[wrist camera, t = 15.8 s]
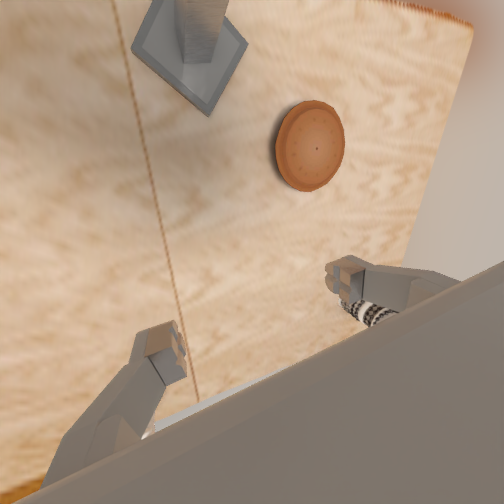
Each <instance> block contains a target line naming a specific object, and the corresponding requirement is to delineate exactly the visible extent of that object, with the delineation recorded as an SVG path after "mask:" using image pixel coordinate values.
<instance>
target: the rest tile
mask: <svg viewBox="0 0 504 504" xmlns="http://www.w3.org/2000/svg"><path fill="white" fill-rule="evenodd" d="M247 46H248V43H247V41H246V40H245V39H244V38H243V37H242V36H241V34H240V33H239V32H238V31H237V30H236V28H235V27H234V26H233V25H232V24H231V23H230V21H229V20H228V19H227V18H226V17H225V16H224V19H223V23H222V26H221V30H220V33H219V36H218V40H217V43H216V47H215V50H214V53H213V57H212V60H211V63H199V64H184V63H183V59H182V55H181V50H180V46H179V42H178V38H177V34H176V30H175V19H174V0H153V1H152V3H151V6H150V8H149V10H148V12H147V14H146V16H145V18H144V20H143V23H142V25H141V27H140V29H139V31H138V33H137V35H136V38H135V40H134V42H133V44H132V46H131V50H132V53H133V54H134V55H136V56H137V57H138V58H139V59H140V60H141V61H143V62H144V63H145V64H146V65H147V66H148V67H150V68H151V69H152V70H153V71H154V72H156V73H157V74H158V75H159V76H160V77H161V78H163V79H164V80H165V81H166V82H167V83H168V84H170V85H171V86H172V87H173V88H174V89H175V90H177V91H178V92H179V93H180V94H181V95H183V96H184V97H185V98H186V99H187V100H188V101H190V102H191V103H192V104H193V105H194V106H195V107H197V108H198V109H199V110H200V111H201V112H203V113H204V114H205V115H206V116H207V117H209V116H210V114H211V112H212V110H213V108H214V106H215V105H216V103H217V101H218V99H219V97H220V95H221V94H222V92H223V90H224V88H225V86H226V84H227V83H228V81H229V79H230V77H231V75H232V73H233V72H234V70H235V68H236V66H237V64H238V63H239V61H240V59H241V57H242V55H243V53H244V52H245V50H246V48H247Z"/></svg>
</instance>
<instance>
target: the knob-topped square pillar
mask: <svg viewBox="0 0 504 504" xmlns="http://www.w3.org/2000/svg"><path fill="white" fill-rule="evenodd" d="M228 2H229V0H174V19H175V30H176V34H177V38H178V42H179V46H180V50H181V55H182V59H183V63H184V64H199V63H211V60H212V57H213V53H214V50H215V47H216V43H217V40H218V36H219V33H220V30H221V26H222V23H223V19H224V16H225V12H226V9H227V6H228Z"/></svg>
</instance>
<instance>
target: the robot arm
mask: <svg viewBox="0 0 504 504" xmlns="http://www.w3.org/2000/svg"><path fill="white" fill-rule="evenodd" d="M325 271H326V272H327V275H326V277H325V283H326V285H327V287H328V289H329V290H330V291H331V292H333V293H335V294H339V298H341V299H342V300H343V301H345V302H346V303H347V304H349V305H350V304H352V303H354V302H357V301H359V300H362V299H363V300H364V301H367V302H370V303H373V304H376V305H379V306H382V307H385V308H388V309H391V310H394V311H397V312H399V313H397V314H395V315H393V316H391V317H389V318H387V319H385V320H383V321H381V322H379V323H377V324H375V325H373V326H371V327H369V328H367V329H365V330H363V331H361V332H359V333H357V334H355V335H353V336H351V337H349V338H347V339H345V340H343V341H341V342H339V343H337V344H334V345H332V346H330V347H328V348H326V349H324V350H322V351H320V352H318V353H316V354H314V355H312V356H310V357H308V358H306V359H304V360H302V361H300V362H298V363H296V364H294V365H292V366H290V367H288V368H286V369H284V370H282V371H280V372H278V373H276V374H274V375H272V376H270V377H268V378H266V379H264V380H262V381H259V382H257V383H255V384H254V385H251V386H249V387H247V388H246V389H243V390H241V391H239V392H237V393H235V394H233V395H231V396H229V397H227V398H225V399H223V400H221V401H219V402H217V403H215V404H213V405H211V406H209V407H207V408H205V409H203V410H201V411H199V412H197V413H195V414H193V415H191V416H188V417H187V418H185V419H183V420H180V421H178V422H176V423H174V424H172V425H170V426H168V427H166V428H164V429H162V430H160V431H158V432H156V433H154V434H152V435H150V436H148V437H146V438H144V439H142V440H141V438H142V436H143V434H144V432H145V430H146V428H147V426H148V424H149V422H150V420H151V418H152V416H153V414H154V412H155V410H156V408H157V406H158V403H159V401H160V399H161V397H162V395H163V393H164V391H165V389H166V386H168V385H170V384H172V383H174V382H176V381H178V380H181V379H183V378H185V377H187V367H186V361H185V359H184V357H185V355H186V348H185V343H184V340H183V337H182V334H181V333H179V332H178V326H177V324H176V322H175V320H171V321H168V322H165V323H163V324H160V325H157V326H154V327H151V328H148V329H145V330H143V331H140V332H138V333H137V334H136V337H135V341H134V345H133V348H132V352H131V356H130V359H129V363H128V364H127V365H125V366H124V367H123V368H122V369H121V370H120V371H119V372H118V374H117V375H116V376H115V377H114V378H113V379H112V380H111V382H110V383H109V384H108V385H107V386H106V387H105V389H104V390H103V391H102V392H101V393H100V394H99V396H98V397H97V398H96V399H95V400H94V401H93V403H92V404H91V405H90V406H89V407H88V408H87V409H86V411H85V412H84V413H83V414H82V415H81V416H80V418H79V419H78V420H77V421H76V422H75V423H74V425H73V426H72V427H71V428H70V429H69V430H68V432H67V433H66V434H65V435H64V436H63V438H62V440H61V442H60V445H59V447H58V449H57V451H56V454H55V456H54V458H53V460H52V463H51V465H50V467H49V469H48V472H47V474H46V476H45V478H44V481H43V483H42V485H41V487H40V490H39V491H37V492H35V493H32V494H30V495H28V496H26V497H24V498H22V499H20V500H18V501H16V502H14V503H12V504H504V261H503V262H501V263H499V264H497V265H495V266H493V267H491V268H489V269H487V270H485V271H483V272H481V273H479V274H476V275H475V276H472V277H470V278H469V279H467V280H464V281H462V282H461V281H458V280H456V279H453V278H450V277H448V276H445V275H442V274H440V273H437V272H434V271H428V270H420V269H411V268H402V267H393V266H385V265H373V264H371V263H368V262H366V261H364V260H362V259H360V258H357V257H355V256H353V255H347V256H345V257H342V258H341V259H338V260H335V261H333V262H330V263H327V264H326V266H325Z"/></svg>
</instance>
